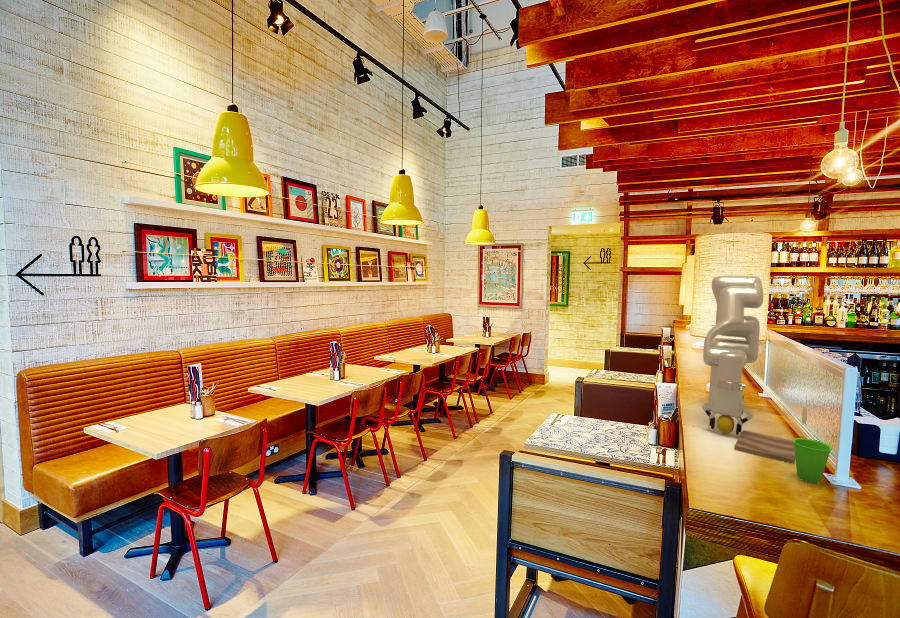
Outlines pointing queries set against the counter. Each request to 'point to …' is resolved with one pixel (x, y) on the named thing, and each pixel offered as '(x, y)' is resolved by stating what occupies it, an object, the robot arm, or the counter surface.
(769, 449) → the serving board
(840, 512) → the counter surface
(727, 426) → the lemon
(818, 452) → the cup
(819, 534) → the counter surface
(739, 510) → the counter surface
